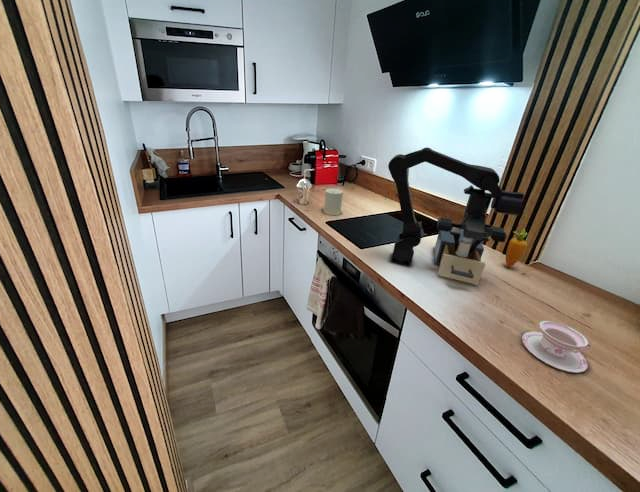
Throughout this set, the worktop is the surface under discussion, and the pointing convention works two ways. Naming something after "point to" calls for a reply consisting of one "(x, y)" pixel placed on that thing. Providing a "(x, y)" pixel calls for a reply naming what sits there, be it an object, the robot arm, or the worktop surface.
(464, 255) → the salt shaker
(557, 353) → the teacup
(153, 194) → the worktop surface
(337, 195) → the can
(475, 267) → the drawer
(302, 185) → the cup with straw
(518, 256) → the carrot
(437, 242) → the cabinet
